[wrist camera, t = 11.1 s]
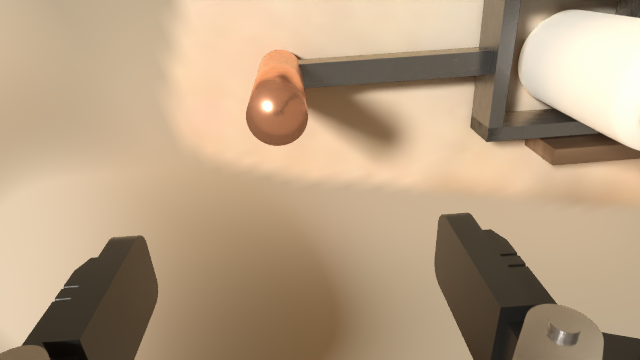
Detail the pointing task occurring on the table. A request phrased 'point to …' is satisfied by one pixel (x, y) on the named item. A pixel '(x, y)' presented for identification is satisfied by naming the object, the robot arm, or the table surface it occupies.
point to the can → (587, 70)
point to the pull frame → (483, 62)
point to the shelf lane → (580, 149)
